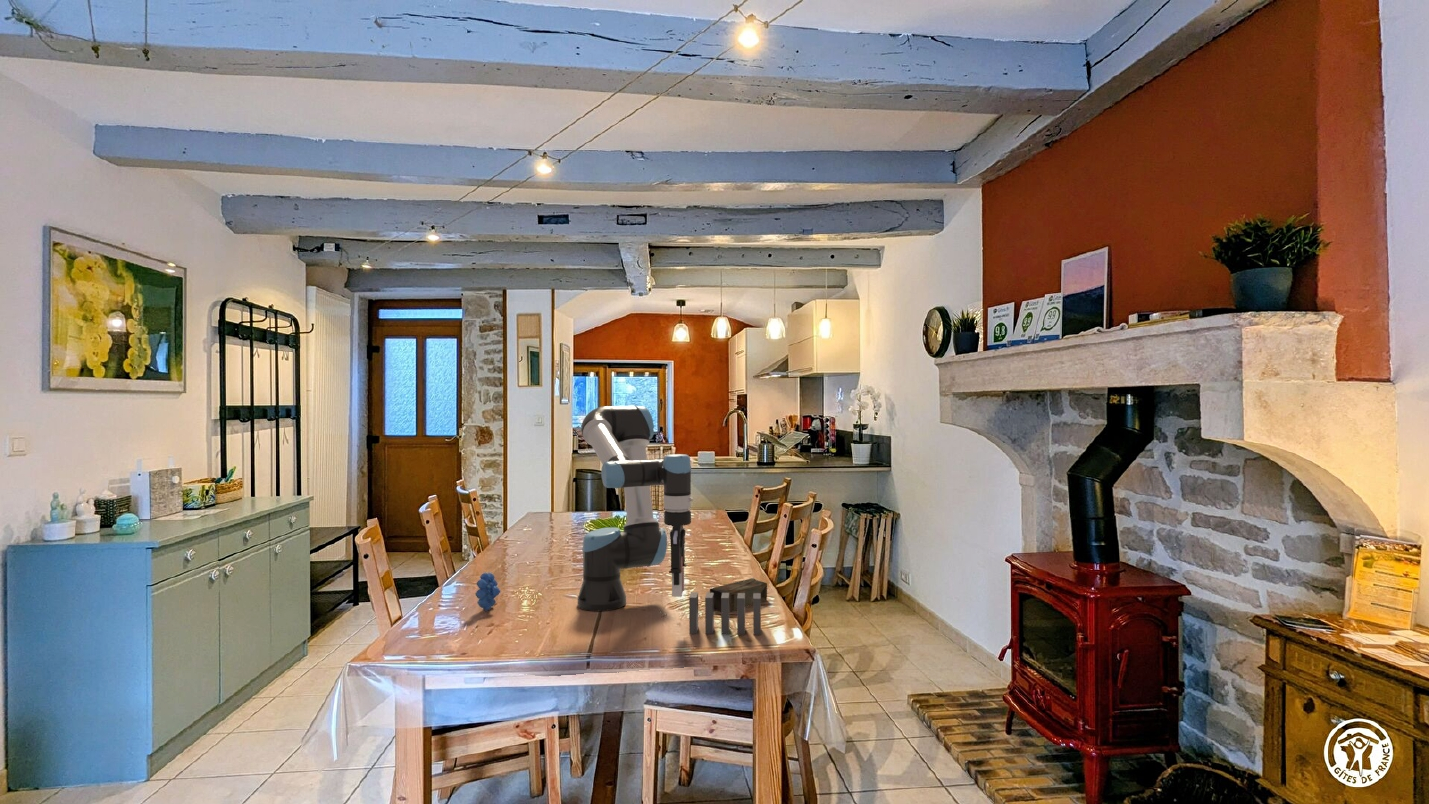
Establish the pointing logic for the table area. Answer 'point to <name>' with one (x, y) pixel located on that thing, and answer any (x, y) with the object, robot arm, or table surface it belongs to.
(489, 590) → the grapes
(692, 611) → the domino
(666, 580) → the table surface
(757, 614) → the domino
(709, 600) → the domino
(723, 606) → the domino
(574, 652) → the table surface
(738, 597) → the domino
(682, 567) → the domino red
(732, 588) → the beverage carton
